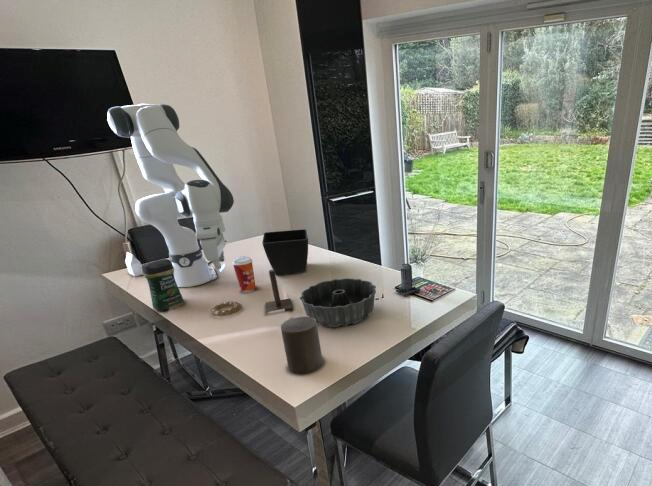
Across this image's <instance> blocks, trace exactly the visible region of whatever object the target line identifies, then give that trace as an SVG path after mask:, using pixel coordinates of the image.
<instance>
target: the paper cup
mask: <svg viewBox="0 0 652 486" xmlns="http://www.w3.org/2000/svg"><path fill="white" fill-rule="evenodd" d="M231 264H232V266H233V268H234V272H235V275H236V279H237V283H238V285H239V288H240V290H241V291H243V292H244V291H251V290H254V289H256V278H255V273H254V272H255V271H254V266H253V265H254V264H253V259H252V257H251V256H249V255H248V256H247V255H244V256H243V255H242V256H237V257H235V258H233V259H232V262H231Z"/></svg>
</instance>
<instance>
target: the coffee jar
mask: <svg viewBox="0 0 652 486" xmlns="http://www.w3.org/2000/svg"><path fill="white" fill-rule="evenodd" d="M141 267H142V272H143V274H142V275H143V277H144V278H145V279H146V280H147V284H148V287H149V293H150V300H151V304H152V307H153V309H154V310H156V311H161V312H163V311H168V310H170V308H171V307H175V306H178V305H179V304H182V303H183V302H184V299H183V296H182V294H181V290H180V288H179V287H178V286H177V284H176V281H175V278H174V267H173V265H172V262H171V260H170V259H169V258H165V257H164V258H160V259H156V260H153V261H150V262H145V263H141Z"/></svg>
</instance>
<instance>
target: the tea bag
mask: <svg viewBox="0 0 652 486" xmlns="http://www.w3.org/2000/svg"><path fill="white" fill-rule="evenodd" d="M124 263H125V265H126V269H127V271H128V274H129V275H131V276H133V277H138V276H142V275H143V272H142V263H141V261H140V260H138V258H137V257H136V256H135V255H134V254H133V253H131V252H129V251H126V255H125V259H124Z"/></svg>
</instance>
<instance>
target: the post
mask: <svg viewBox="0 0 652 486" xmlns="http://www.w3.org/2000/svg"><path fill="white" fill-rule="evenodd" d="M268 275H269V280H270V286H271V289H272V290H271V291H272V295H273V300H271V301H266V302H265V313H269V312H275V311H281V310H284V312H291V311H293V307H292V301H291V298H284V299H281V297H280V292H279V286H278V281H277V275H276V274H275V270H273V269H269V270H268Z"/></svg>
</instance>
